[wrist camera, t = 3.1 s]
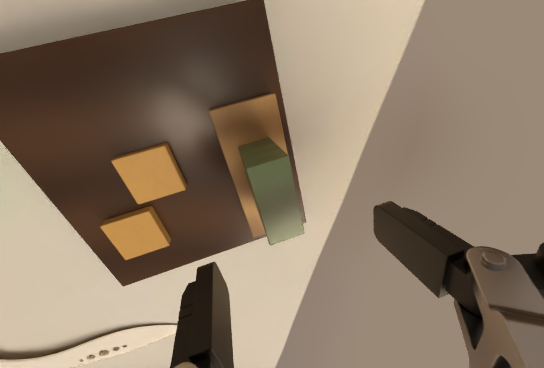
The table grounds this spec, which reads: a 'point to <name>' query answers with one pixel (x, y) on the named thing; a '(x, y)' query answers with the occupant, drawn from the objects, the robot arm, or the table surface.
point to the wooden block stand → (259, 165)
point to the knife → (96, 348)
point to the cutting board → (141, 125)
